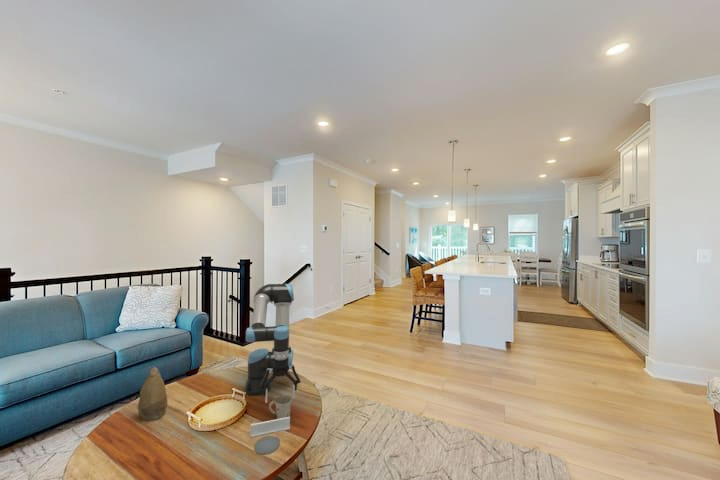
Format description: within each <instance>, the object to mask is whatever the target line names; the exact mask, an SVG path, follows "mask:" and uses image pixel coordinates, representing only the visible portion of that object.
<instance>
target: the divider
mask: <svg viewBox="0 0 720 480" xmlns="http://www.w3.org/2000/svg"><path fill="white" fill-rule="evenodd" d="M290 429H291V416H290V417H285V418H280V419H277V418H276V419H271V420H267V421H261V422H255V423H250V439H252V438H257V437H261V436H265V435H269V434H275V433H278V432H284V431H288V430H290Z"/></svg>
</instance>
